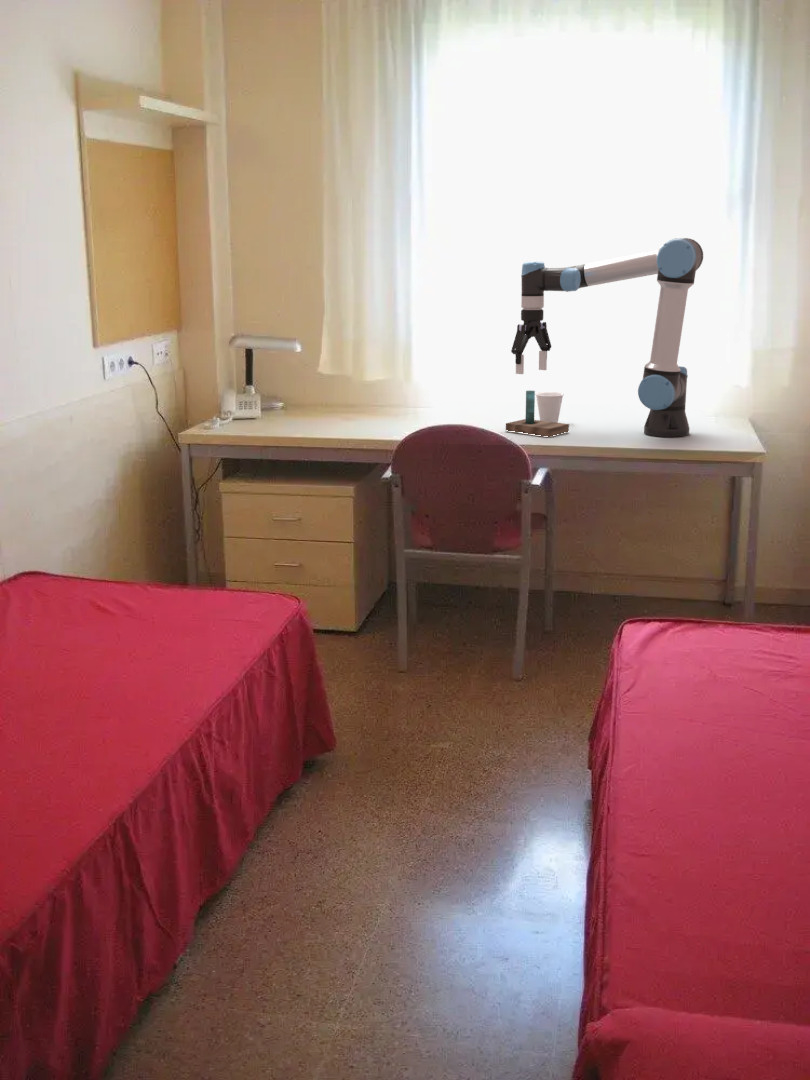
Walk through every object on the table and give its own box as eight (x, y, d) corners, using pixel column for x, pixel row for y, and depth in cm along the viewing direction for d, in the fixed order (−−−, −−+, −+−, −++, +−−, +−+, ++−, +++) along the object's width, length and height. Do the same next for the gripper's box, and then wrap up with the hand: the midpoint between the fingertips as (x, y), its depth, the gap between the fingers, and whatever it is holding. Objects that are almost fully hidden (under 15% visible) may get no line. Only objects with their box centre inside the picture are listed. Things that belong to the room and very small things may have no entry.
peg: (535, 431, 399) (536, 391, 396) (530, 432, 397) (531, 391, 393) (528, 430, 401) (529, 390, 397) (523, 431, 399) (524, 391, 395)
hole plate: (568, 432, 396) (568, 424, 395) (548, 437, 387) (549, 428, 386) (525, 427, 407) (526, 418, 406) (505, 431, 399) (505, 423, 398)
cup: (543, 427, 406) (544, 396, 403) (530, 423, 415) (530, 393, 412) (567, 425, 410) (568, 394, 407) (554, 421, 419) (555, 391, 416)
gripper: (544, 306, 399) (542, 367, 405) (501, 310, 381) (500, 374, 387) (562, 307, 395) (560, 369, 400) (519, 311, 377) (518, 376, 382)
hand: (531, 372), depth 394 cm, fingers open, 13 cm apart
